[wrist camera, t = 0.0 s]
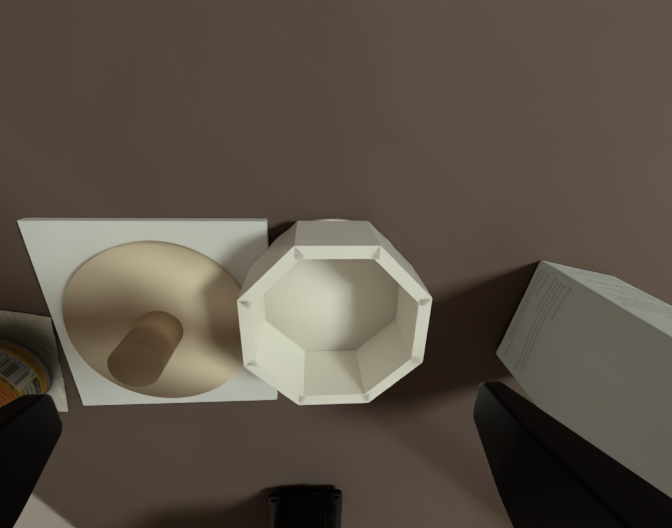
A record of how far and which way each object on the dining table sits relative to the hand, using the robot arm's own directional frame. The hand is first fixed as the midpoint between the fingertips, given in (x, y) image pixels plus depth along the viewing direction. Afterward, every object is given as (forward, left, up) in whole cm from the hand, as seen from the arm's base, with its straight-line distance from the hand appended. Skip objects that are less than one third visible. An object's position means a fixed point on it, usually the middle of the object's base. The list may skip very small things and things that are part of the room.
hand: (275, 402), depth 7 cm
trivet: (-7, +9, -15) cm, 19 cm away
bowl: (-5, -2, -15) cm, 16 cm away
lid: (-7, +9, -14) cm, 19 cm away
